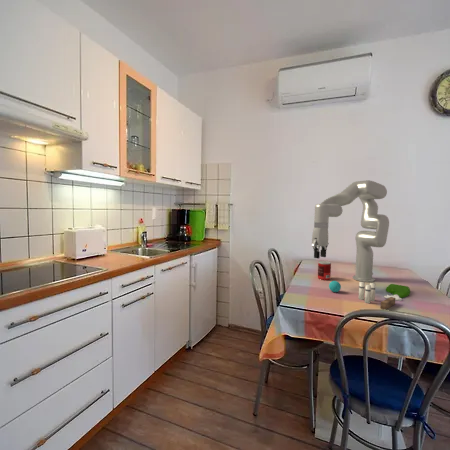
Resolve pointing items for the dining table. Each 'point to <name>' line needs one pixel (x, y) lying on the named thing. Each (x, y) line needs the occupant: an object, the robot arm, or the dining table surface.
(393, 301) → the brown wooden bar
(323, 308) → the dining table surface
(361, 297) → the front pin
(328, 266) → the canned food
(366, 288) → the back pin near
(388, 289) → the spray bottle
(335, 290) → the ball
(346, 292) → the dining table surface
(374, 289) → the back pin far
